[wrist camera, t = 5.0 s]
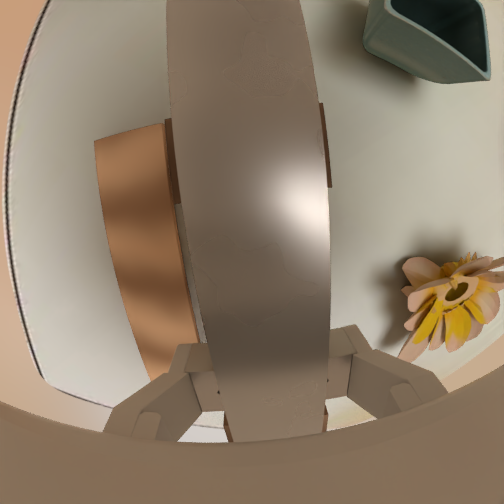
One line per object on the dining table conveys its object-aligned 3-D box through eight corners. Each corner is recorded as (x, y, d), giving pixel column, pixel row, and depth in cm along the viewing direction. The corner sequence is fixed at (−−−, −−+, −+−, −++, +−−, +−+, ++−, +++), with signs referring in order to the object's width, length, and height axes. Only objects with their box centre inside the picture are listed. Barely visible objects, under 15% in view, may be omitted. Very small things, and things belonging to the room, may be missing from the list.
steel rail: (188, 34, 7) (166, -13, 4) (279, 25, 7) (292, -25, 4) (255, 473, 13) (257, 511, 10) (303, 468, 13) (310, 506, 10)
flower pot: (338, 59, 18) (384, 9, 9) (353, -6, 15) (389, -58, 7) (425, 102, 18) (492, 83, 10) (431, 34, 16) (483, 4, 8)
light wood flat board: (98, 141, 19) (94, 141, 18) (164, 124, 19) (161, 123, 18) (155, 383, 26) (154, 388, 25) (210, 383, 26) (209, 388, 25)
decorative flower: (356, 359, 23) (418, 413, 13) (377, 238, 23) (460, 239, 13) (455, 349, 25) (513, 376, 15) (473, 256, 25) (539, 262, 15)
